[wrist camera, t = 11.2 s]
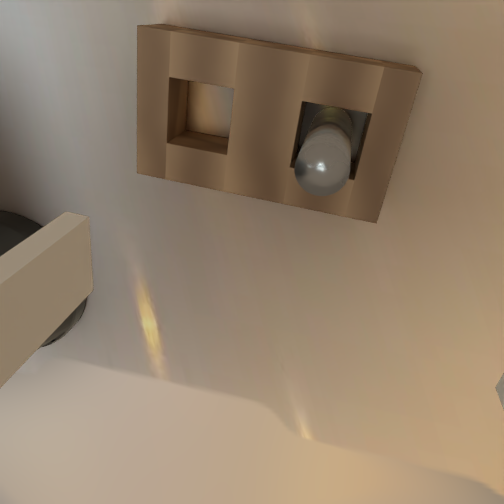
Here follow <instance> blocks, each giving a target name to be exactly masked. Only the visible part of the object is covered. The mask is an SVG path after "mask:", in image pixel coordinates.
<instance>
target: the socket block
mask: <svg viewBox="0 0 504 504" xmlns="http://www.w3.org/2000/svg"><path fill="white" fill-rule="evenodd" d="M422 74H423V73H422V72H421V71H420V70H419V69H417V68H416V67H415V66H411V65H405V64H399V63H393V62H387V61H381V60H375V59H369V58H363V57H357V56H351V55H345V54H339V53H333V52H327V51H321V50H315V49H309V48H303V47H297V46H291V45H285V44H279V43H273V42H267V41H260V40H254V39H248V38H242V37H236V36H230V35H224V34H218V33H212V32H206V31H200V30H194V29H188V28H182V27H176V26H170V25H164V24H153V25H137V173H138V174H143V175H148V176H152V177H157V178H162V179H167V180H171V181H176V182H181V183H186V184H191V185H195V186H200V187H205V188H210V189H214V190H219V191H224V192H229V193H234V194H238V195H243V196H248V197H253V198H257V199H262V200H267V201H272V202H277V203H281V204H286V205H291V206H296V207H300V208H305V209H310V210H315V211H320V212H324V213H329V214H334V215H339V216H343V217H348V218H353V219H358V220H363V221H367V222H372V223H377V220H378V217H379V213H380V210H381V207H382V204H383V200H384V197H385V194H386V191H387V187H388V184H389V181H390V178H391V175H392V171H393V168H394V165H395V162H396V158H397V155H398V152H399V149H400V145H401V142H402V139H403V136H404V132H405V129H406V126H407V123H408V119H409V116H410V113H411V110H412V106H413V103H414V100H415V97H416V93H417V90H418V87H419V84H420V80H421V77H422ZM188 80H189V81H195V82H200V83H206V84H211V85H217V86H222V87H228V88H233V89H234V96H233V105H232V114H231V124H230V133H229V139H228V138H223V137H218V136H212V135H207V134H202V133H197V132H192V131H187V130H185V129H186V111H187V94H188ZM306 102H311V103H316V104H322V105H327V106H333V107H339V108H344V109H350V110H355V111H361V112H366V113H368V114H367V118H366V122H365V126H364V130H363V134H362V137H361V141H360V145H359V149H358V153H357V157H356V160H355V163H351V162H350V174H349V178H348V180H347V182H346V184H345V185H344V186H343V187H342V188H341V189H340V190H339V191H337V192H336V193H334V194H331V195H327V196H316V195H313V194H310V193H308V192H307V191H305V190H304V189H303V188H302V187H301V186H300V185H299V183H298V182H297V180H296V177H295V172H294V168H295V162H296V159H297V157H298V155H299V152H297V147H298V142H299V136H300V131H301V126H302V121H303V115H304V110H305V105H306Z"/></svg>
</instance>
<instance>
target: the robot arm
mask: <svg viewBox="0 0 504 504" xmlns="http://www.w3.org/2000/svg"><path fill="white" fill-rule="evenodd" d="M92 291H93V276H92V259H91V242H90V225H89V217H88V216H84V215H79V214H75V213H70V212H65V213H63V214H62V215H60V216H59V217H57V218H56V219H54V220H53V221H51V222H50V223H48V224H47V225H46V226H44V227H43V228H42V227H41V226H39V225H38V224H36V223H34V222H32V221H31V220H29V219H26V218H24V217H22V216H19V215H16V214H13V213H9V212H4V211H0V388H1V387H2V386H3V385H4V384H5V383H6V382H7V381H8V379H9V378H10V377H11V376H12V375H13V374H14V373H15V372H16V371H17V370H18V369H19V368H20V367H21V366H22V365H23V364H24V363H25V362H26V361H27V359H28V358H29V357H30V356H31V355H32V354H33V353H34V352H35V351H36V350H37V349H39V348H41V347H44V346H47V345H50V344H52V343H54V342H56V341H58V340H59V339H61V338H62V337H63V336H64V335H65V334H66V333H67V332H68V331H69V330H70V329H71V328H72V327H73V326H74V325H75V324H76V323H77V321H78V320H79V319H80V317H81V315H82V313H83V311H84V307H85V302H86V297H87V296H88V295H89V294H90V293H91V292H92ZM495 388H496V390H497V393H498V396H499V398H500V401H501V404H502V406H503V409H504V373H503V375H502V377H501V379H500V380H499V382H498V384H497V386H496V387H495Z"/></svg>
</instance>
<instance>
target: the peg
mask: <svg viewBox="0 0 504 504" xmlns="http://www.w3.org/2000/svg"><path fill="white" fill-rule="evenodd" d="M351 143H352V121H351V118H350V117H349V115H348V114H347V113H346V112H345V111H344V110H342V109H340V108H336V107H329V108H325V109H323V110H321V111H320V112H318V113H317V114H316V116H315V117H314V119H313V121H312V124H311V126H310V128H309V131H308V133H307V136H306V138H305V140H304V143H303V145H302V147H301V150H300V152H299V155H298V157H297V159H296V162H295V168H294V172H295V177H296V180H297V182H298V183H299V185H300V186H301V187H302V188H303V189H304V190H305V191H307V192H308V193H310V194H313V195H316V196H327V195H331V194H334V193H336V192H337V191H339V190H340V189H341V188H342V187H343V186H344V185H345V184H346V182H347V180H348V178H349V174H350V161H351Z"/></svg>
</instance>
